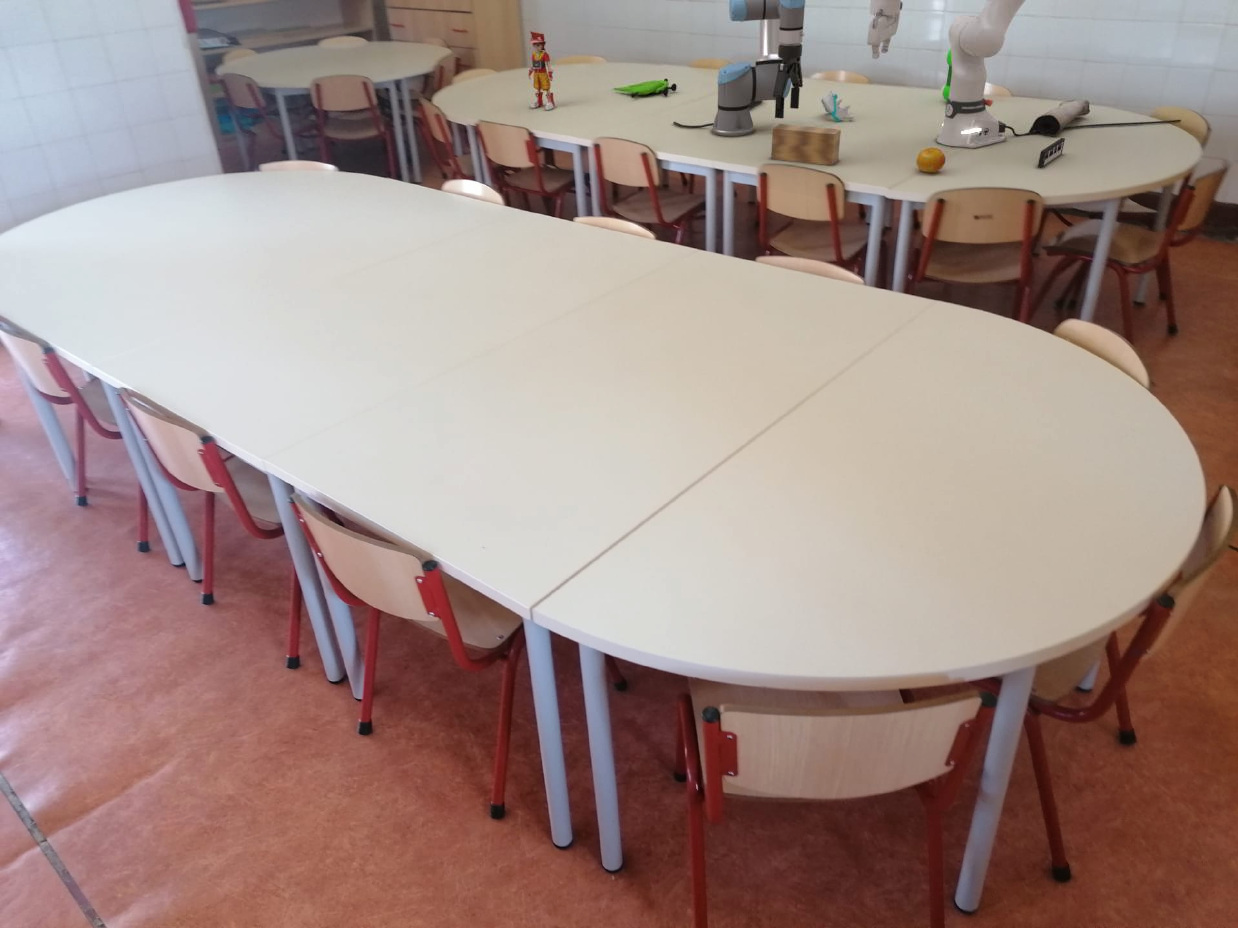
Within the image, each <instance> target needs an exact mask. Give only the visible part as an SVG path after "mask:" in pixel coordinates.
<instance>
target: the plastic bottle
mask: <svg viewBox="0 0 1238 928" xmlns="http://www.w3.org/2000/svg"><path fill="white" fill-rule="evenodd" d="M946 63H947V64H948V69H947V70H948V71H947V76H946V77H947V78H946V84H945V85H944V87H943V90H942V97H943V99H944V100H945V101H946V102H947V98H948V97H949V91H950V84H951V76H952V59H951V48H950V49H949V50H948V52H947V54H946Z"/></svg>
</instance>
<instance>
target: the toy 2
mask: <svg viewBox="0 0 1238 928" xmlns="http://www.w3.org/2000/svg"><path fill="white" fill-rule="evenodd" d="M669 85H670V83H669V79H668V78H664V79H663V80H649V81H644V82H640V83H634V84H629V85H627V86H621V87H613V88H612V89H613V90H616V91H619V92H623V93H627V94H628V93H629V94H631V95H630V96H631V98H632V99H634V98H636V96H637V95H650V94H652V93H654V94H658V93H662V95H663V96H665V97H667V96H668V95H669V90H671V91H672V92H676V91H677V84H676V83H672V84H671V86H669Z"/></svg>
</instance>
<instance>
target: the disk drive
mask: <svg viewBox="0 0 1238 928" xmlns="http://www.w3.org/2000/svg"><path fill="white" fill-rule="evenodd" d="M762 102H763V101H750V102H749V110H750V109H752V108H753V107H755V106H757V105H759V104H761V103H762Z"/></svg>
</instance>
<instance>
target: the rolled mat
mask: <svg viewBox="0 0 1238 928" xmlns="http://www.w3.org/2000/svg"><path fill="white" fill-rule="evenodd" d="M1090 113H1091V110H1090V101H1089V100H1087V99H1073V100H1066V101H1063V102H1060V103H1059V105H1058V106H1057V107H1055V108H1052V109H1049V111H1047V112H1045V113H1043V114H1041V115H1040V116H1038V117H1036V119H1035V120H1034V121H1033V123H1032V125H1031V127H1030V129H1029V130H1028V133H1029V132H1033V131H1040V133H1041V134H1042V135H1045V136H1051V137H1054V136H1056V135H1058V134H1059V133H1061V131H1062V130H1064V129H1063V128H1064V127H1067V125H1068V124H1069V123H1071V122H1072V121H1073V120H1075V119H1076V118H1077V117H1082V116H1083V117H1084V116H1086V115H1089V114H1090Z"/></svg>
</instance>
